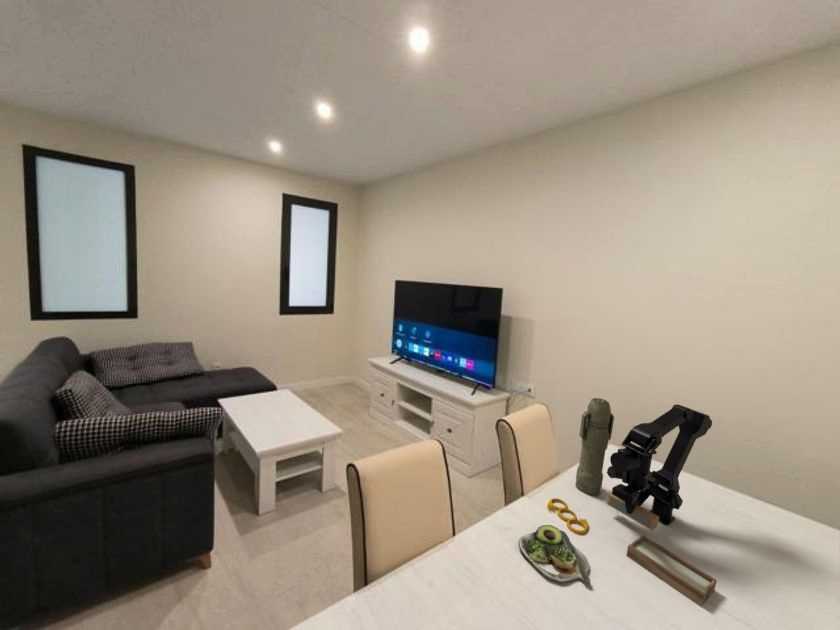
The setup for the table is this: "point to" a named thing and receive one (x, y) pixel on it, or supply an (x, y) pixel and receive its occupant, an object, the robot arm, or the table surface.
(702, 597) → the brown picture frame
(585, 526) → the gold linked rings
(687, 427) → the robot arm
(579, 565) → the salad plate
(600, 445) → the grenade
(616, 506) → the tan rectangular block
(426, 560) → the table surface
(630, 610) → the table surface
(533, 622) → the table surface
